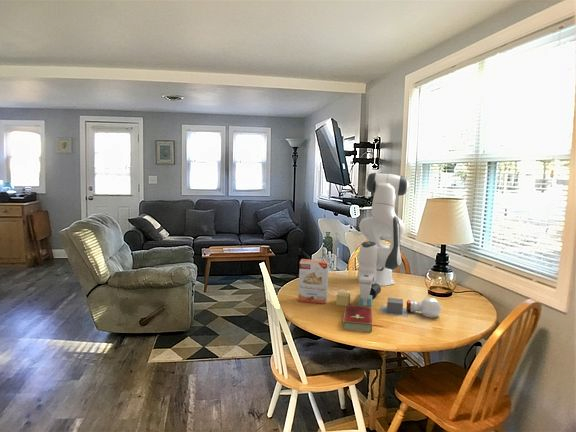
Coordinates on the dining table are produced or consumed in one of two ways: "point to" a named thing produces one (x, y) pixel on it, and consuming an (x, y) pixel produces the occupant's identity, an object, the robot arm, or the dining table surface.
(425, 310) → the potion bottle
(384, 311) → the build plate
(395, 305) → the base brick
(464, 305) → the dining table surface
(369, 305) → the teal brick
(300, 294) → the cracker box
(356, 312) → the hardcover book
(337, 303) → the ochre brick
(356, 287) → the dining table surface
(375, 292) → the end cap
